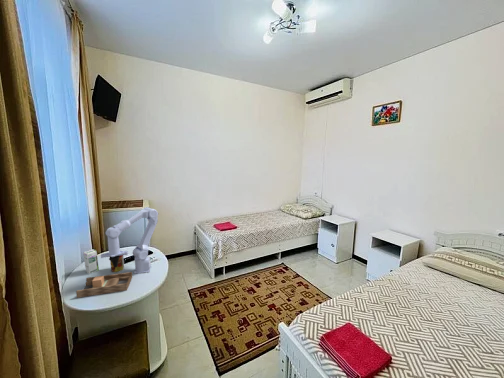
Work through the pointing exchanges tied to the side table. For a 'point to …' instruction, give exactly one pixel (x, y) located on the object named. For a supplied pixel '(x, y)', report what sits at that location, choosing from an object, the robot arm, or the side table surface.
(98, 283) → the terracotta block
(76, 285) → the side table surface
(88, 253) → the syrup box
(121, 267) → the canned food
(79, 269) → the side table surface
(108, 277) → the trap lane
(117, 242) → the robot arm
